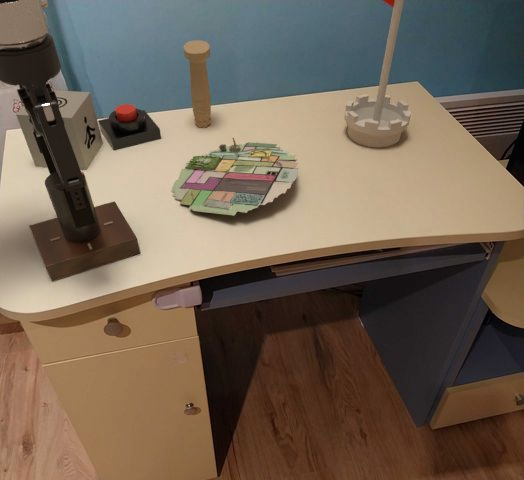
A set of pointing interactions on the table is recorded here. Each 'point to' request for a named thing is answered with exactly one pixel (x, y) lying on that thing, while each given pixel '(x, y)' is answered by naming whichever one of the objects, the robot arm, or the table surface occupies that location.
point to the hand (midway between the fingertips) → (72, 199)
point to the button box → (129, 130)
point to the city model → (235, 178)
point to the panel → (85, 244)
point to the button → (126, 112)
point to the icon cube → (69, 128)
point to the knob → (65, 216)
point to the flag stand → (379, 102)
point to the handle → (199, 80)
